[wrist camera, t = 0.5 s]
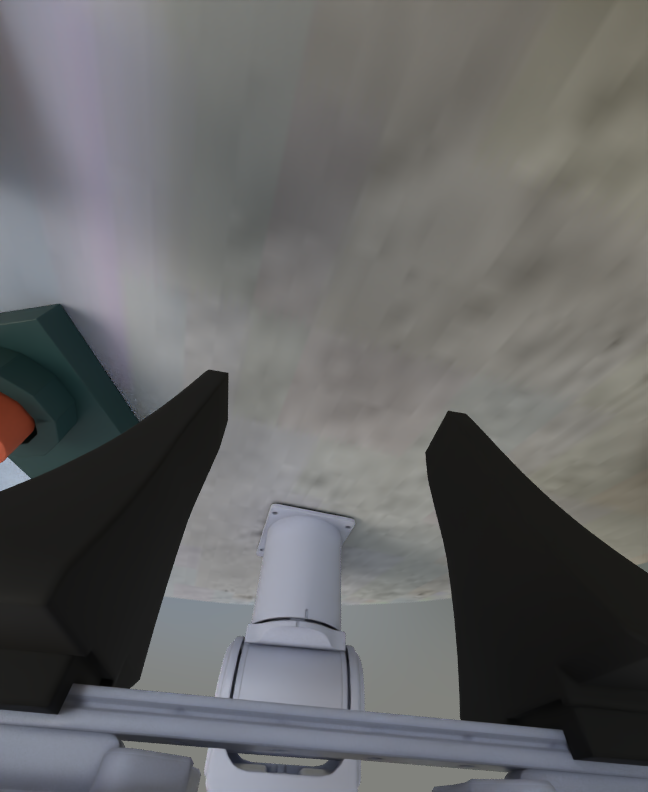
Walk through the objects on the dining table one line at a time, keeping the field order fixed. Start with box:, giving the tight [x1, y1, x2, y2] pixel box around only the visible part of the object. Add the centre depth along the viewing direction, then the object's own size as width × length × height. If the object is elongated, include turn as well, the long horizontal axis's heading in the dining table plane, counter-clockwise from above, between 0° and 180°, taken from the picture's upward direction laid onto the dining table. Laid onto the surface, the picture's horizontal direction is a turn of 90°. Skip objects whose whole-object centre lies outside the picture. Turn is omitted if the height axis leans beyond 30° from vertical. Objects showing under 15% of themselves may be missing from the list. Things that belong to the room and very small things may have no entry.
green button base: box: [0, 304, 139, 479], centre depth 23 cm, size 13×10×4 cm
